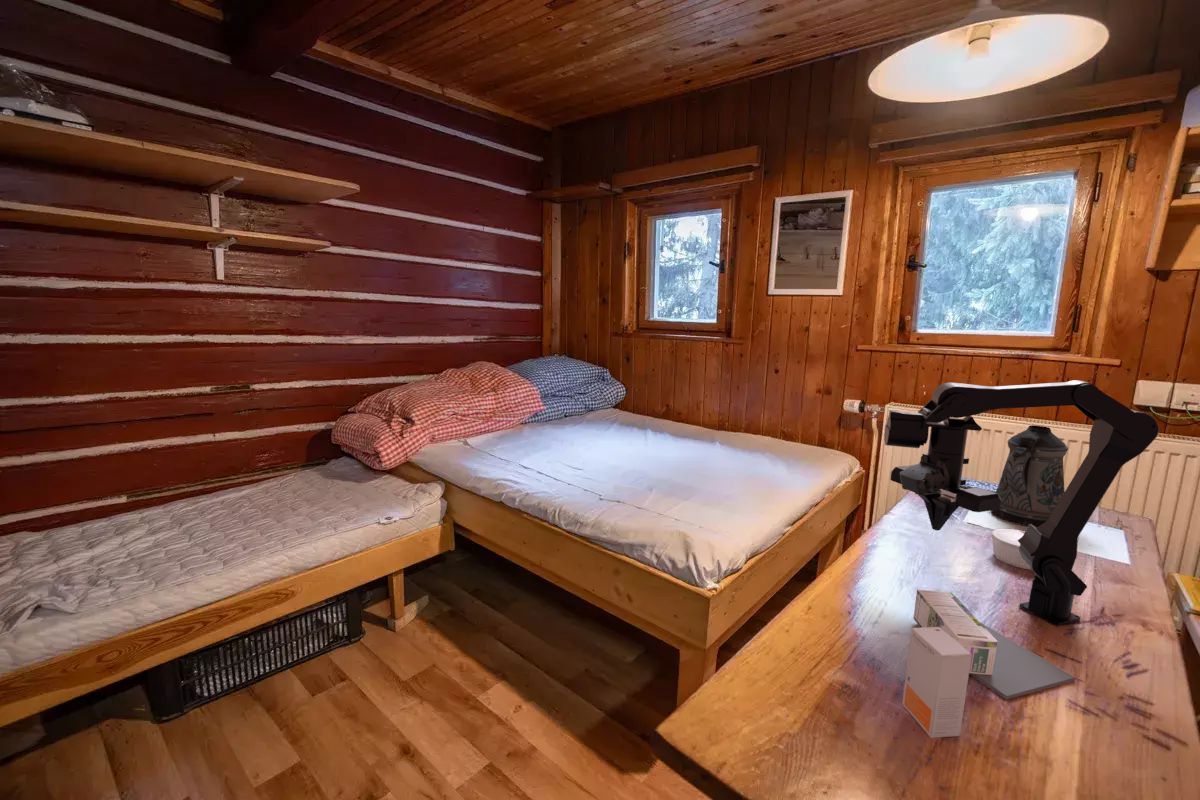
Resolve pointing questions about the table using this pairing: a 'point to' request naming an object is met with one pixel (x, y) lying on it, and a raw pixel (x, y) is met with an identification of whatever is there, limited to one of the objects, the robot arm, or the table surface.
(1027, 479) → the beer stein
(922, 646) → the skincare box
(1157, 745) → the table surface
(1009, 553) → the ramekin
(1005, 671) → the mat
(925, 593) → the syrup box
